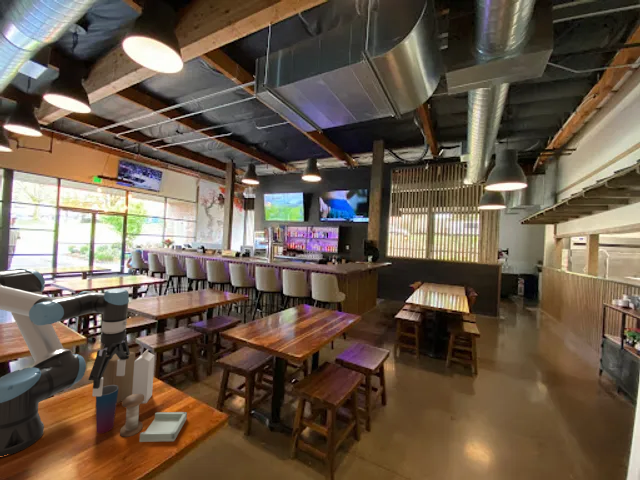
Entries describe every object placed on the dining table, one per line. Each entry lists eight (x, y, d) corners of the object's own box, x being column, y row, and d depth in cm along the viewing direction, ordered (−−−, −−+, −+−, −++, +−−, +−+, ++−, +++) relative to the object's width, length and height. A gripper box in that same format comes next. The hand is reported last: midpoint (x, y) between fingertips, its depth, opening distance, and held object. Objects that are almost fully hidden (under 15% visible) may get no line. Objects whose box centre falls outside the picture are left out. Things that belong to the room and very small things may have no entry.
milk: (131, 404, 116) (134, 354, 116) (138, 395, 122) (140, 348, 122) (146, 403, 117) (149, 354, 117) (152, 395, 123) (155, 348, 123)
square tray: (139, 441, 96) (139, 434, 96) (155, 419, 108) (156, 412, 108) (174, 441, 98) (174, 433, 98) (186, 418, 110) (187, 412, 110)
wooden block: (94, 401, 116) (97, 356, 116) (118, 389, 126) (120, 347, 125) (111, 407, 113) (114, 361, 113) (133, 394, 123) (136, 352, 122)
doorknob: (115, 437, 98) (117, 404, 98) (127, 423, 105) (129, 393, 105) (135, 436, 99) (138, 404, 98) (146, 423, 105) (147, 393, 105)
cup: (103, 436, 97) (105, 396, 97) (88, 432, 99) (90, 393, 99) (120, 424, 104) (123, 386, 104) (106, 420, 105) (108, 383, 105)
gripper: (102, 344, 90) (97, 406, 90) (141, 320, 114) (137, 368, 115) (78, 343, 89) (73, 405, 89) (123, 319, 113) (119, 368, 114)
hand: (109, 385), depth 102 cm, fingers open, 13 cm apart
